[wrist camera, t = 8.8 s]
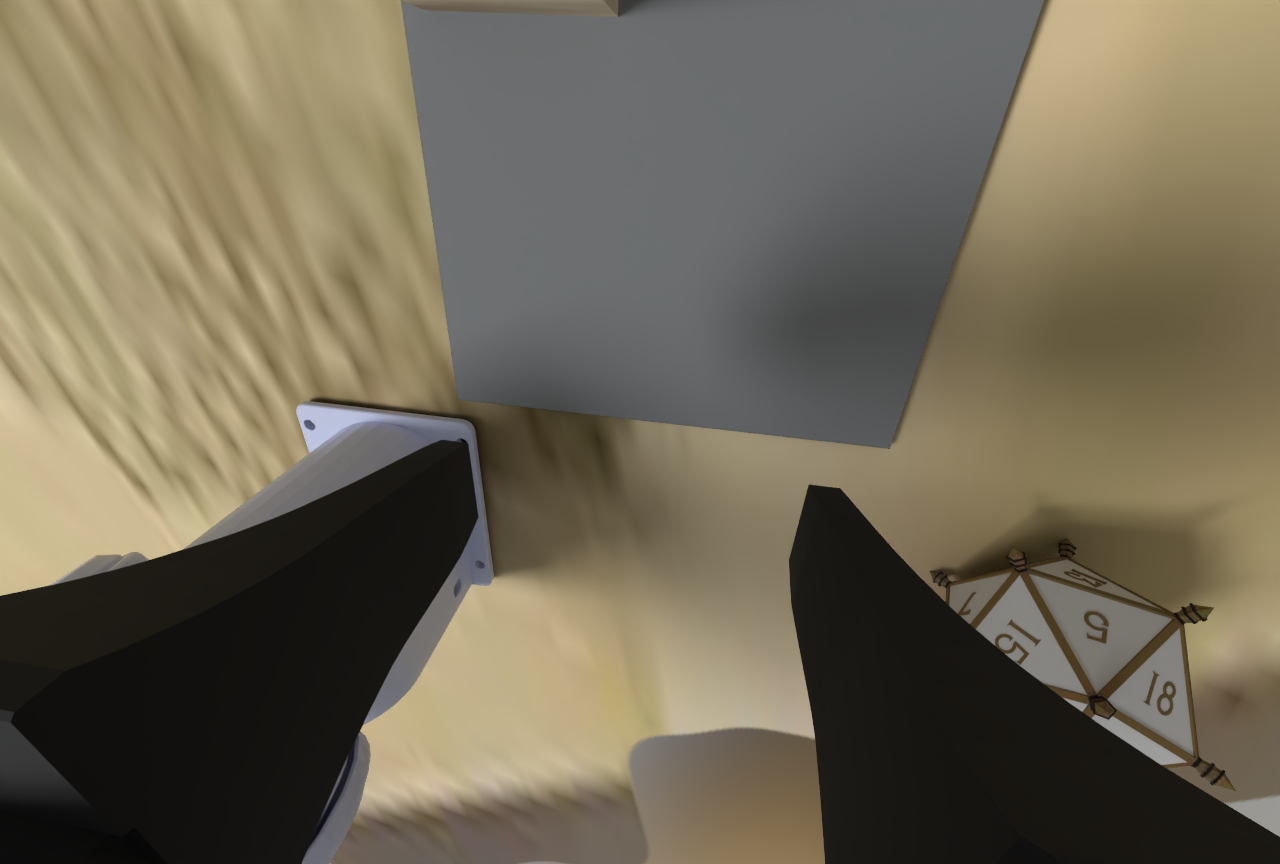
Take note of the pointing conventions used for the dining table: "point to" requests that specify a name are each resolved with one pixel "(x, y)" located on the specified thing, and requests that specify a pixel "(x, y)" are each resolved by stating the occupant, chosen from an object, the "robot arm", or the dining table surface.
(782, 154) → the mat
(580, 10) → the maple block
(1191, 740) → the game die
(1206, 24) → the dining table surface
